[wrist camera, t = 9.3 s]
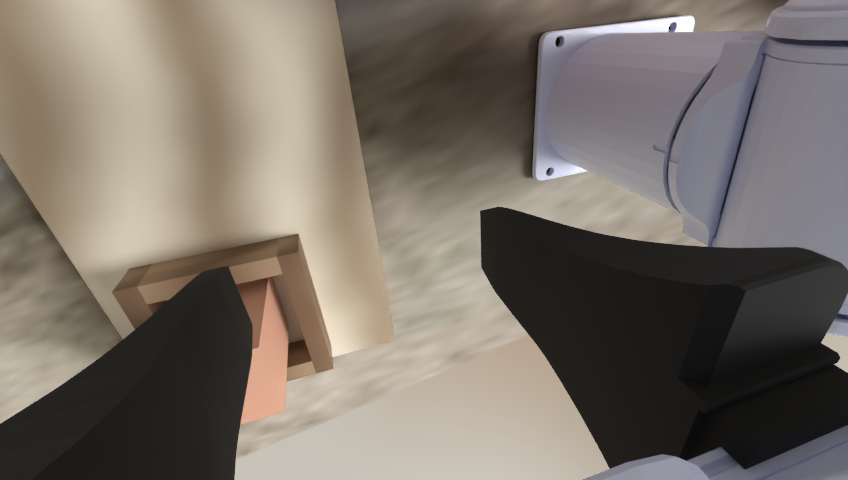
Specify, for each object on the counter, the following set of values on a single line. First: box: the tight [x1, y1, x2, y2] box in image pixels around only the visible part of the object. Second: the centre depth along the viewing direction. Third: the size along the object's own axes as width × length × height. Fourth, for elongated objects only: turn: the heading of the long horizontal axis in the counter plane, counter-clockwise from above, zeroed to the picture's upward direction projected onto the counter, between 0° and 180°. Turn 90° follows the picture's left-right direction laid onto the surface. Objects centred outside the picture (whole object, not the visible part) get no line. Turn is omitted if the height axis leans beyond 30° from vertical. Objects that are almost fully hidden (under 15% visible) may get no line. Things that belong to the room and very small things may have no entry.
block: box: [236, 277, 289, 424], centre depth 18 cm, size 4×4×6 cm
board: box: [0, 0, 395, 382], centre depth 18 cm, size 14×20×3 cm
